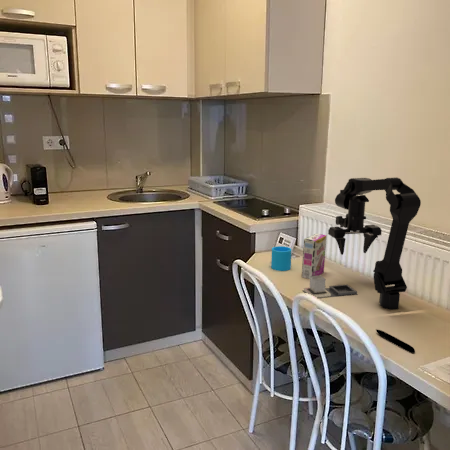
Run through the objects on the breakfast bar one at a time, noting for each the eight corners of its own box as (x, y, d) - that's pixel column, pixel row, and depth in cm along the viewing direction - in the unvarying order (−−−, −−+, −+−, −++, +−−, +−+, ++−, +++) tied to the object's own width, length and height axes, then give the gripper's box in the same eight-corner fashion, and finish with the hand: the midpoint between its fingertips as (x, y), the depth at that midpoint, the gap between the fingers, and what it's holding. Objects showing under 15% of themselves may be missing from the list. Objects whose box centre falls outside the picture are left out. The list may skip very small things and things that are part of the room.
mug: (294, 269, 192) (295, 250, 190) (276, 272, 189) (277, 252, 187) (280, 261, 203) (281, 243, 201) (263, 263, 200) (264, 245, 198)
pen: (377, 332, 138) (377, 327, 138) (416, 353, 126) (417, 348, 126) (373, 333, 138) (373, 328, 137) (412, 355, 126) (413, 349, 125)
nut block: (324, 295, 163) (325, 279, 161) (314, 296, 162) (314, 280, 161) (319, 291, 167) (320, 275, 165) (309, 291, 166) (310, 276, 164)
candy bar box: (312, 282, 178) (315, 240, 174) (301, 279, 181) (302, 238, 177) (324, 274, 187) (327, 234, 183) (313, 271, 190) (315, 232, 186)
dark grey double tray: (358, 297, 164) (358, 291, 163) (310, 301, 160) (311, 296, 159) (347, 288, 171) (347, 283, 171) (301, 293, 167) (302, 287, 167)
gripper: (368, 207, 178) (364, 246, 182) (322, 209, 174) (320, 249, 177) (384, 213, 167) (380, 254, 171) (336, 215, 163) (333, 257, 167)
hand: (353, 253), depth 172 cm, fingers open, 9 cm apart
